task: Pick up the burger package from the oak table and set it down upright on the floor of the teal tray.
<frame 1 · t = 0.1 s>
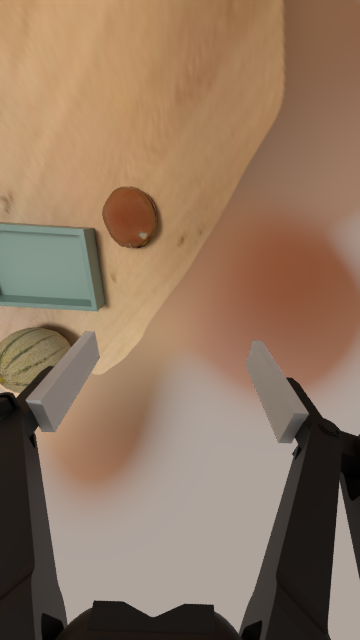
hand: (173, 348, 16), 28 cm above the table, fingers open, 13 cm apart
cantaloupe: (55, 340, 50), on the table
burger: (134, 219, 36), on the table
teal tray: (44, 265, 40), on the table
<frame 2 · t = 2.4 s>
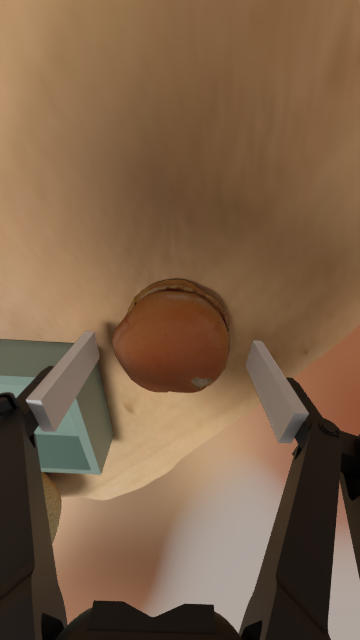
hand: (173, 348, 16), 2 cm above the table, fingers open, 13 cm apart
cantaloupe: (35, 469, 32), on the table
burger: (175, 328, 18), on the table
teal tray: (4, 392, 22), on the table
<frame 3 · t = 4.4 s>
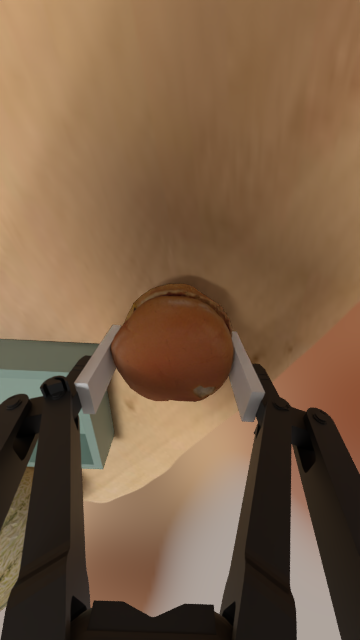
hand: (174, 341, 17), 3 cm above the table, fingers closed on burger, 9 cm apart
cantaloupe: (36, 470, 33), on the table
burger: (176, 333, 17), point 2 cm above the table, touching gripper
teal tray: (13, 391, 24), on the table
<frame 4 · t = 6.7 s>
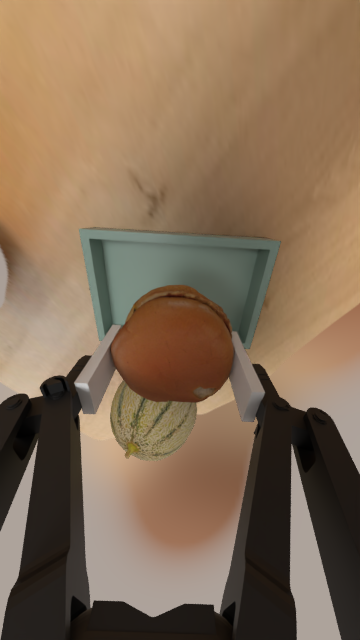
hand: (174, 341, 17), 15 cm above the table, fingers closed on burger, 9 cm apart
cantaloupe: (159, 376, 40), on the table
burger: (176, 334, 17), point 14 cm above the table, touching gripper
teal tray: (178, 287, 30), on the table
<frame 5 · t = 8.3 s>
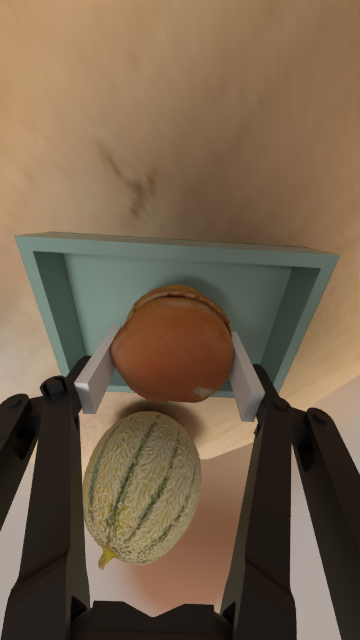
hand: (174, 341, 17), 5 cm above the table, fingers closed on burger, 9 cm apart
cantaloupe: (152, 419, 31), on the table
burger: (176, 334, 17), point 5 cm above the table, touching gripper
teal tray: (176, 314, 21), on the table
when the fingers open (5 cm above the table, at t = 9.3 s): burger drops 4 cm, resting on teal tray.
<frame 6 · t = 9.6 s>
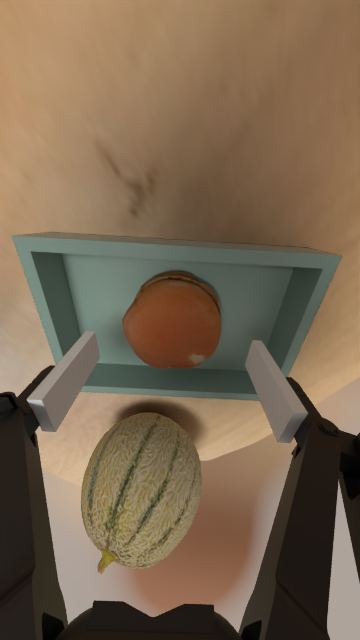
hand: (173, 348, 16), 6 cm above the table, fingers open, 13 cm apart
cantaloupe: (152, 420, 31), on the table
burger: (175, 314, 20), point 1 cm above the table, touching teal tray
teal tray: (176, 315, 21), on the table
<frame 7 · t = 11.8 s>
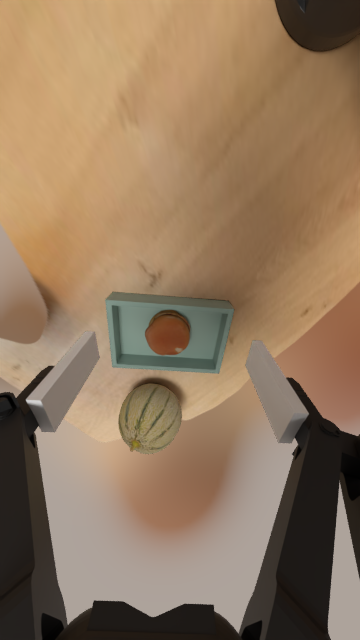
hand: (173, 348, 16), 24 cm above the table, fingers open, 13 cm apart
cantaloupe: (154, 391, 51), on the table
burger: (169, 328, 42), point 1 cm above the table, touching teal tray
teal tray: (169, 329, 42), on the table
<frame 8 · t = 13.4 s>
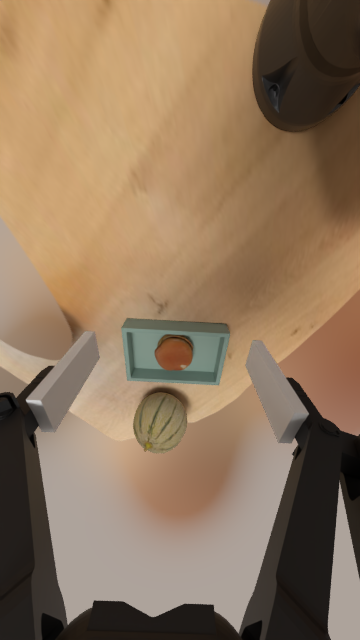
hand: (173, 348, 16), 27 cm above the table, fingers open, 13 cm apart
cantaloupe: (162, 398, 59), on the table
burger: (175, 347, 48), point 1 cm above the table, touching teal tray
teal tray: (175, 347, 49), on the table
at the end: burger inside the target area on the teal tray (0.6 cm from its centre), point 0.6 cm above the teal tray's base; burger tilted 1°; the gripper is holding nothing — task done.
